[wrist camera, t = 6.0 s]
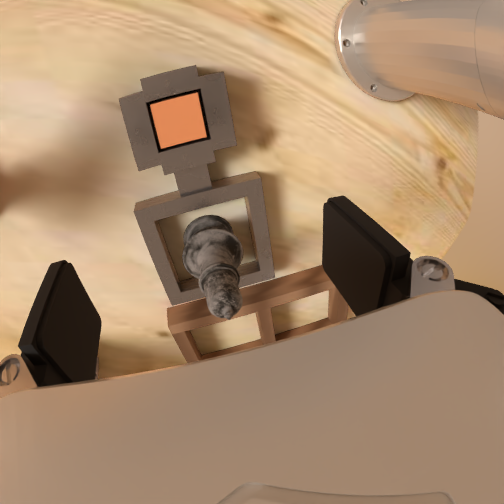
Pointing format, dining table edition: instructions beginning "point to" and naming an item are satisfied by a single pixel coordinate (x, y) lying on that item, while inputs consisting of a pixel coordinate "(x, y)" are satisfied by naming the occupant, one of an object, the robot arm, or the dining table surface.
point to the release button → (178, 119)
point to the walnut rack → (258, 311)
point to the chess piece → (215, 263)
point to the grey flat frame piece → (192, 175)
